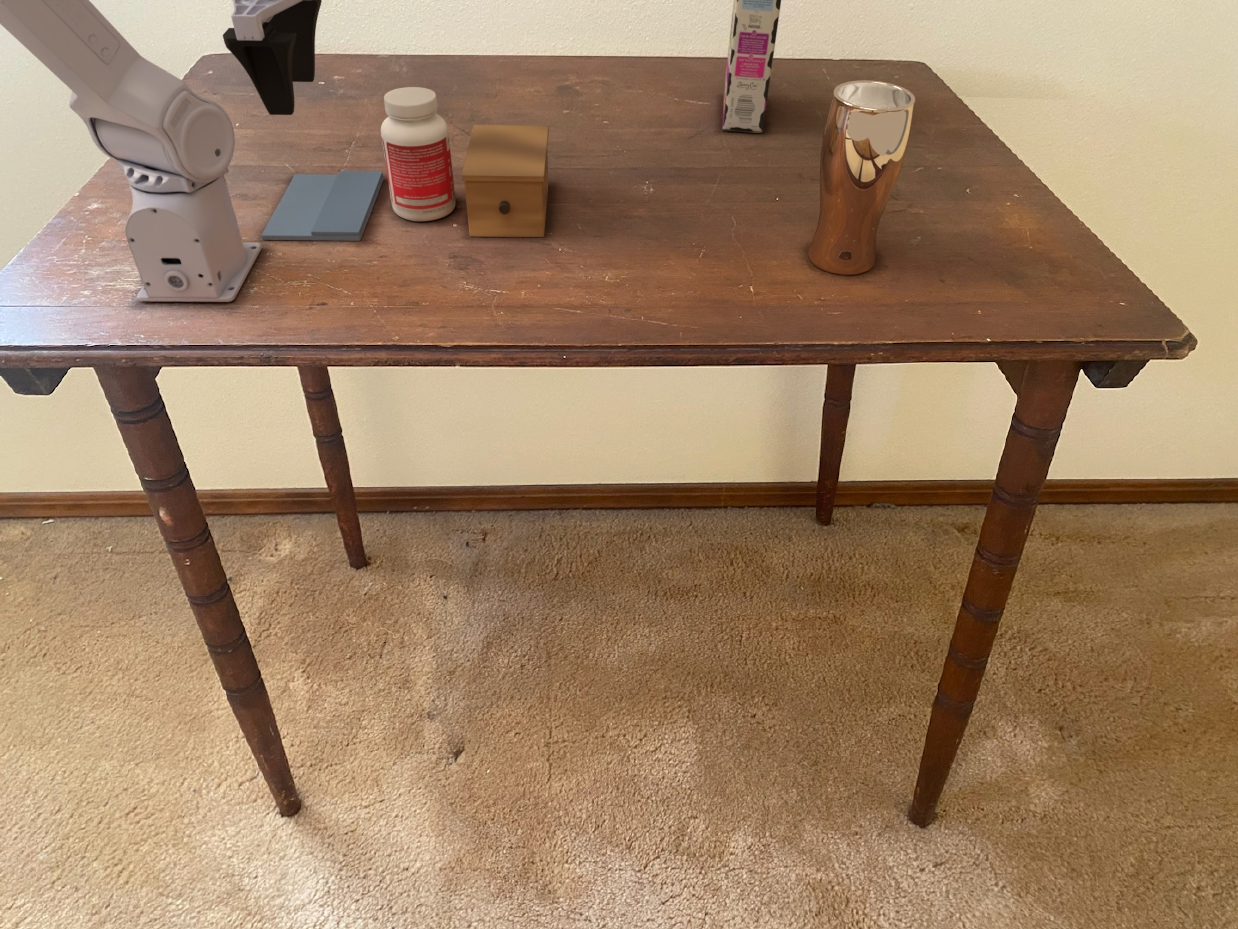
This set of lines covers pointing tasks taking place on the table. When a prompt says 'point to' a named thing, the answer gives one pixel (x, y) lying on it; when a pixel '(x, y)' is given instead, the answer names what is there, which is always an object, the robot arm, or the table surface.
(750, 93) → the candy bar box
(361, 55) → the table surface
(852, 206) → the beer glass
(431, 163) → the pill bottle
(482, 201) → the birch box
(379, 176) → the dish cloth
